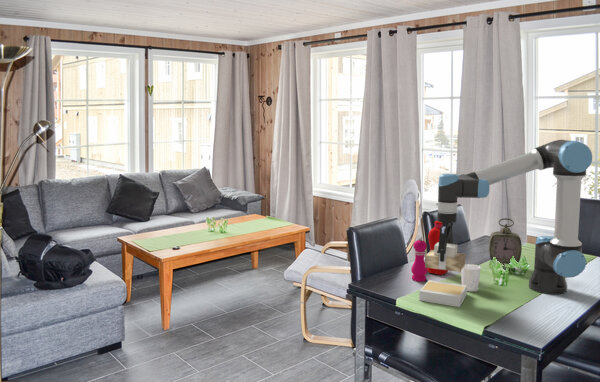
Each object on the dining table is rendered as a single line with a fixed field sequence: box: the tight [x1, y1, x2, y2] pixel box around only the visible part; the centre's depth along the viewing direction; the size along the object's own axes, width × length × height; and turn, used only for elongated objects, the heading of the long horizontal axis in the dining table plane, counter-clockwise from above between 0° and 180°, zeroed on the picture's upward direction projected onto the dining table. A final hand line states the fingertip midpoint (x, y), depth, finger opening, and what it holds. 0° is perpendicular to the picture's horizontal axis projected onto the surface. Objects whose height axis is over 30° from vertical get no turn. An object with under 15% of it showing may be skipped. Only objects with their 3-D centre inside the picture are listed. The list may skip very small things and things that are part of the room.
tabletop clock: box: [488, 217, 522, 266], centre depth 257 cm, size 14×9×25 cm, turn 73°
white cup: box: [460, 263, 481, 292], centre depth 227 cm, size 8×8×10 cm
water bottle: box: [427, 220, 449, 276], centre depth 250 cm, size 9×11×25 cm
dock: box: [418, 279, 468, 308], centre depth 217 cm, size 16×16×4 cm
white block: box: [434, 242, 458, 258], centre depth 214 cm, size 8×6×4 cm
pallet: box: [424, 250, 466, 273], centre depth 215 cm, size 14×10×5 cm
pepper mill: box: [410, 236, 428, 283], centre depth 240 cm, size 7×7×20 cm
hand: (444, 265), depth 215 cm, fingers closed on pallet, 10 cm apart
